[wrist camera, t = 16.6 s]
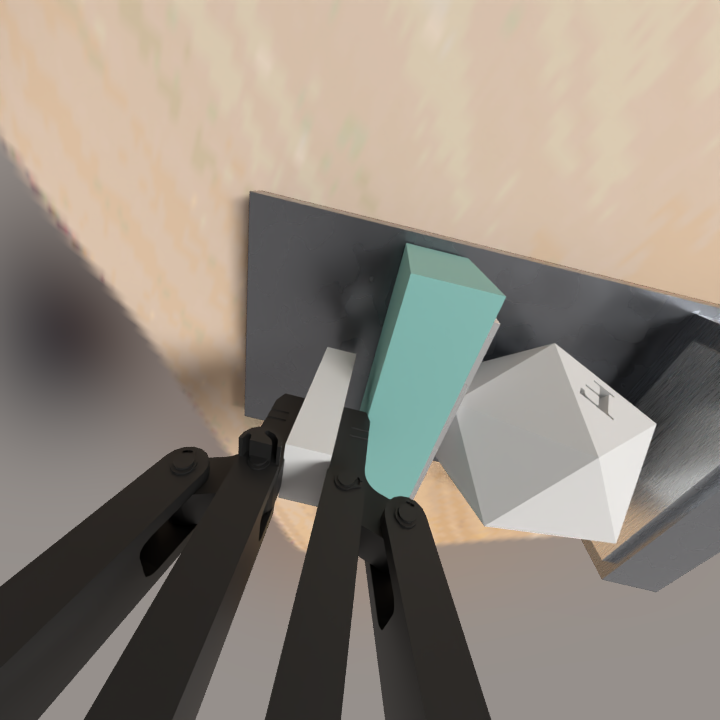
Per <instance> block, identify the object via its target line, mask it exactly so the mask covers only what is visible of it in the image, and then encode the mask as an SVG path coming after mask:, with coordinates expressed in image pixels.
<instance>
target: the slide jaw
mask: <svg viewBox="0 0 720 720" xmlns="http://www.w3.org/2000/svg"><path fill="white" fill-rule="evenodd" d="M505 298H506V296H505V295H504V294H503V293H502V292H501V291H500V290H499V289H498V288H497V287H496V286H495V285H494V284H493V283H492V282H491V281H490V280H489V279H488V278H487V277H486V276H485V275H484V274H483V273H482V272H481V271H480V270H479V269H478V268H477V267H476V266H475V265H474V264H473V263H472V262H471V260H470V259H469V258H465V257H461V256H457V255H453V254H449V253H445V252H441V251H437V250H433V249H429V248H425V247H421V246H417V245H413V244H409V243H406V245H405V249H404V253H403V256H402V260H401V263H400V267H399V271H398V274H397V278H396V281H395V285H394V289H393V292H392V296H391V299H390V303H389V307H388V310H387V314H386V317H385V321H384V324H383V328H382V332H381V335H380V339H379V342H378V346H377V350H376V353H375V357H374V360H373V364H372V368H371V371H370V375H369V378H368V382H367V386H366V389H365V393H364V396H363V400H362V403H361V407H360V411H363V412H366V413H367V415H368V418H369V420H370V428H369V437H368V446H367V455H366V464H365V476H366V479H367V481H368V483H369V484H370V486H371V487H372V488H373V489H374V490H375V491H377V492H378V493H380V494H381V495H383V496H385V497H387V498H388V499H392V498H393V497H397V496H404V497H409V498H410V499H412V500H413V499H414V497H415V495H416V493H417V491H418V489H419V487H420V485H421V483H422V481H423V479H424V477H425V475H426V473H427V471H428V469H429V467H430V465H431V463H432V461H433V459H434V457H435V455H436V453H437V451H438V449H439V447H440V445H441V443H442V441H443V439H444V437H445V435H446V433H447V431H448V429H449V427H450V425H451V422H452V420H453V418H454V416H455V414H456V412H457V410H458V408H459V406H460V404H461V402H462V400H463V398H464V396H465V394H466V392H467V390H468V388H469V386H470V384H471V382H472V380H473V378H474V376H475V374H476V372H477V370H478V368H479V366H480V364H481V362H482V360H483V358H484V356H485V354H486V352H487V350H488V348H489V346H490V344H491V342H492V340H493V338H494V336H495V334H496V332H497V330H498V328H499V326H500V323H499V321H498V320H497V319H496V317H497V315H498V313H499V311H500V309H501V307H502V304H503V302H504V300H505Z"/></svg>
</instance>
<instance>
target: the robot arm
mask: <svg viewBox="0 0 720 720" xmlns="http://www.w3.org/2000/svg"><path fill="white" fill-rule="evenodd" d="M355 358H356V354H354V353H350V352H346V351H342V350H338V349H334V348H330V347H327V349H326V351H325V354H324V356H323V358H322V361H321V363H320V365H319V368H318V370H317V372H316V375H315V377H314V379H313V382H312V384H311V386H310V388H309V391H308V393H307V395H306V398H302V397H298V396H294V395H290V394H286V393H285V394H284V395H282V396H281V397H280V398H278V399H277V400H276V401H275V403H274V405H273V407H272V408H271V410H270V412H269V414H268V416H267V417H266V419H265V421H264V422H263V424H262V426H261V427H255V428H251V429H249V430H247V431H245V432H243V433H242V434H241V435H240V437H239V454H237V455H234V456H229V457H214V458H208V455H207V453H206V452H204V451H203V450H202V449H200V448H196V447H184V448H180V449H177V450H174V451H173V452H171V453H169V454H167V455H166V456H165V457H163V458H162V459H161V460H160V461H159V462H157V463H156V464H155V465H153V466H152V467H151V468H149V469H148V470H147V471H146V472H144V473H143V474H142V475H141V476H139V477H138V478H137V479H136V480H135V481H133V482H132V483H131V484H129V485H128V486H127V487H126V488H124V489H123V490H122V491H120V492H119V493H118V494H117V495H116V496H114V497H113V498H112V499H110V500H109V501H108V502H107V503H105V504H104V505H103V506H101V507H100V508H99V509H98V510H96V511H95V512H94V513H93V514H91V515H90V516H89V517H88V518H86V519H85V520H84V521H83V522H81V523H80V524H79V525H78V526H77V527H75V528H74V529H72V530H71V531H70V532H69V533H67V534H66V535H65V536H64V537H62V538H61V539H60V540H59V541H57V542H56V543H55V544H53V545H52V546H51V547H50V548H49V549H47V550H46V551H45V552H43V553H42V554H41V555H40V556H39V557H37V558H36V559H35V560H33V561H32V562H31V563H30V564H28V565H27V566H26V567H24V568H23V569H22V570H21V571H19V572H18V573H17V574H16V575H14V576H13V577H12V578H11V579H9V580H8V581H7V582H6V583H4V584H3V585H2V586H0V720H38V719H39V717H40V716H41V715H42V714H43V713H44V712H45V711H46V709H47V708H48V707H49V706H50V705H51V704H52V702H53V701H54V700H55V699H56V698H57V696H58V695H59V694H60V693H61V692H62V691H63V690H64V688H65V687H66V686H67V685H68V684H69V683H70V682H71V680H72V679H73V678H74V677H75V676H76V675H77V673H78V672H79V671H80V670H81V669H82V668H83V666H84V665H85V664H86V663H87V662H88V661H89V659H90V658H91V657H92V656H93V655H94V654H95V652H96V651H97V650H98V649H99V648H100V646H101V645H102V644H103V643H104V642H105V641H106V640H107V639H108V637H109V636H110V635H111V634H112V633H113V632H114V630H115V629H116V628H117V627H118V626H119V625H120V623H121V622H122V621H123V620H124V619H125V618H126V617H127V615H128V614H129V613H130V612H131V611H132V610H133V608H134V607H135V606H136V605H137V604H138V603H139V601H140V600H141V599H142V598H143V597H144V596H145V594H146V593H147V592H148V591H149V590H150V589H151V587H152V586H153V585H154V584H155V583H156V582H157V581H158V579H159V578H160V577H161V576H162V575H163V574H164V572H165V571H166V570H167V569H168V568H169V566H170V565H171V564H172V563H173V562H174V561H175V560H176V558H177V557H178V556H179V555H180V554H181V555H180V556H179V558H178V560H177V561H176V563H175V565H174V567H173V568H172V570H171V572H170V573H169V575H168V577H167V579H166V580H165V582H164V584H163V585H162V587H161V589H160V590H159V592H158V594H157V596H156V597H155V599H154V601H153V602H152V604H151V606H150V607H149V609H148V611H147V613H146V614H145V616H144V618H143V619H142V621H141V623H140V625H139V626H138V628H137V630H136V631H135V633H134V635H133V637H132V638H131V640H130V642H129V643H128V645H127V647H126V649H125V650H124V652H123V654H122V655H121V657H120V659H119V661H118V662H117V664H116V666H115V667H114V669H113V671H112V672H111V674H110V676H109V677H108V679H107V681H106V683H105V684H104V686H103V688H102V689H101V691H100V693H99V695H98V696H97V698H96V700H95V701H94V703H93V705H92V707H91V708H90V710H89V712H88V713H87V715H86V717H85V719H84V720H195V719H196V716H197V714H198V711H199V708H200V706H201V703H202V701H203V698H204V695H205V692H206V690H207V687H208V685H209V682H210V679H211V676H212V674H213V671H214V669H215V666H216V663H217V661H218V658H219V655H220V652H221V650H222V647H223V645H224V642H225V639H226V637H227V634H228V631H229V629H230V626H231V623H232V620H233V618H234V616H235V613H236V610H237V608H238V605H239V602H240V600H241V597H242V594H243V592H244V589H245V586H246V583H247V581H248V578H249V576H250V573H251V570H252V567H253V565H254V562H255V560H256V557H257V554H258V552H259V549H260V546H261V544H262V541H263V538H264V536H265V533H266V530H267V528H268V525H269V523H270V520H271V517H272V515H273V510H274V503H275V501H276V498H277V496H278V493H279V496H278V497H279V498H283V499H287V500H291V501H296V502H300V503H304V504H308V505H312V506H317V507H318V508H317V512H316V516H315V520H314V524H313V528H312V532H311V536H310V540H309V544H308V548H307V552H306V556H305V560H304V565H303V569H302V573H301V577H300V581H299V585H298V589H297V593H296V597H295V601H294V605H293V609H292V613H291V617H290V621H289V625H288V629H287V633H286V637H285V641H284V645H283V649H282V653H281V657H280V661H279V665H278V669H277V673H276V677H275V681H274V685H273V689H272V693H271V697H270V701H269V705H268V709H267V713H266V717H265V720H341V713H342V703H343V694H344V684H345V675H346V666H347V656H348V647H349V638H350V628H351V618H352V609H353V600H354V590H355V579H356V571H357V562H358V556H359V557H360V558H362V559H364V560H365V566H366V574H367V581H368V589H369V597H370V604H371V613H372V620H373V628H374V635H375V644H376V651H377V659H378V667H379V675H380V682H381V690H382V698H383V706H384V714H385V720H491V718H490V715H489V712H488V708H487V705H486V702H485V699H484V696H483V693H482V690H481V687H480V683H479V681H478V677H477V674H476V671H475V668H474V665H473V661H472V658H471V655H470V652H469V649H468V646H467V643H466V640H465V636H464V633H463V630H462V627H461V624H460V621H459V618H458V614H457V611H456V608H455V605H454V602H453V599H452V596H451V593H450V590H449V586H448V583H447V580H446V577H445V574H444V571H443V568H442V564H441V561H440V558H439V555H438V552H437V549H436V546H435V542H434V539H433V536H432V533H431V530H430V527H429V524H428V520H427V517H426V515H425V513H424V511H423V509H422V508H421V506H420V505H419V504H418V503H417V502H416V501H414V500H412V499H410V498H409V497H404V496H397V497H393V498H392V499H388V498H387V497H385V496H383V495H381V494H380V493H378V492H377V491H375V490H374V489H373V488H372V487H371V486H370V484H369V483H368V481H367V479H366V476H365V464H366V455H367V446H368V437H369V428H370V420H369V418H368V415H367V413H366V412H363V411H359V410H354V409H350V408H346V407H344V404H345V399H346V395H347V391H348V387H349V383H350V379H351V375H352V370H353V366H354V362H355Z"/></svg>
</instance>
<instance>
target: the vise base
mask: <svg viewBox="0 0 720 720" xmlns="http://www.w3.org/2000/svg"><path fill="white" fill-rule="evenodd" d="M406 243H409V244H413V245H417V246H421V247H425V248H429V249H433V250H437V251H441V252H445V253H449V254H453V255H457V256H461V257H465V258H469V259H470V260H471V262H472V263H473V264H474V265H475V266H476V267H477V268H478V269H479V270H480V271H481V272H482V273H483V274H484V275H485V276H486V277H487V278H488V279H489V280H490V281H491V282H492V283H493V284H494V285H495V286H496V287H497V288H498V289H499V290H500V291H501V292H502V293H503V294H504V295H505V296H506V298H505V300H504V302H503V304H502V307H501V309H500V311H499V313H498V315H497V317H496V319H497V320H498V321H499V323H500V326H499V328H498V330H497V332H496V334H495V336H494V338H493V340H492V342H491V344H490V346H489V348H488V350H487V352H486V354H485V356H484V358H483V360H482V362H484V361H488V360H492V359H496V358H500V357H503V356H507V355H511V354H515V353H518V352H522V351H526V350H530V349H534V348H537V347H541V346H545V345H549V344H553V343H555V344H557V345H558V346H559V347H560V348H562V349H563V350H564V351H565V352H567V353H568V354H569V355H570V356H572V357H573V358H574V359H575V360H577V361H578V362H579V363H581V364H582V365H583V366H584V367H586V368H587V369H588V370H589V371H591V372H592V373H593V374H594V375H596V376H597V377H598V378H599V379H601V380H602V381H603V382H604V383H606V384H607V385H608V386H609V387H611V388H612V389H613V390H615V391H616V392H617V393H618V394H620V395H621V396H622V397H623V398H625V399H626V400H627V401H628V402H630V403H631V404H632V405H633V406H635V407H636V408H637V409H638V410H640V411H641V412H642V413H644V414H645V415H646V416H647V417H649V418H650V419H651V420H652V421H654V422H655V423H656V427H655V430H654V433H653V436H652V439H651V442H650V445H649V448H648V451H647V454H646V457H645V459H644V462H643V465H642V468H641V471H640V474H639V477H638V480H637V483H636V486H635V489H634V492H633V495H632V498H631V501H630V504H629V507H628V510H627V513H626V516H625V519H624V522H623V525H622V528H621V531H620V533H619V536H618V539H617V542H616V544H615V543H608V542H600V541H593V540H585V539H581V540H582V542H583V544H584V546H585V548H586V550H587V552H588V554H589V555H590V557H591V559H592V561H593V563H594V565H595V567H596V569H597V571H598V573H599V575H600V577H601V579H602V580H606V581H611V582H615V583H619V584H623V585H628V586H632V587H636V588H641V589H645V590H649V591H653V592H657V591H659V590H660V589H662V588H664V587H665V586H667V585H668V584H670V583H672V582H673V581H675V580H676V579H678V578H679V577H681V576H683V575H684V574H686V573H687V572H689V571H691V570H692V569H694V568H695V567H697V566H698V565H700V564H702V563H703V562H705V561H706V560H708V559H710V558H711V557H713V556H714V555H716V554H717V553H719V552H720V305H719V304H715V303H711V302H707V301H703V300H699V299H695V298H691V297H687V296H683V295H679V294H675V293H671V292H667V291H663V290H659V289H655V288H651V287H647V286H643V285H639V284H635V283H631V282H627V281H623V280H619V279H614V278H610V277H606V276H602V275H598V274H594V273H590V272H586V271H582V270H578V269H574V268H570V267H566V266H562V265H558V264H554V263H550V262H546V261H542V260H538V259H534V258H530V257H526V256H522V255H518V254H514V253H510V252H506V251H502V250H498V249H494V248H490V247H486V246H482V245H478V244H474V243H470V242H466V241H462V240H458V239H454V238H450V237H446V236H442V235H438V234H434V233H430V232H426V231H422V230H418V229H414V228H410V227H406V226H402V225H398V224H394V223H390V222H386V221H382V220H378V219H374V218H370V217H366V216H362V215H358V214H354V213H350V212H346V211H342V210H338V209H334V208H330V207H326V206H322V205H318V204H314V203H310V202H306V201H302V200H298V199H294V198H290V197H286V196H281V195H277V194H273V193H269V192H265V191H250V201H249V246H248V290H247V335H246V379H245V416H248V417H252V418H256V419H260V420H265V419H266V417H267V416H268V414H269V412H270V410H271V408H272V407H273V405H274V403H275V401H276V400H277V399H278V398H280V397H281V396H282V395H284V394H285V393H286V394H290V395H294V396H298V397H302V398H306V395H307V393H308V391H309V388H310V386H311V384H312V382H313V379H314V377H315V375H316V372H317V370H318V368H319V365H320V363H321V361H322V358H323V356H324V354H325V351H326V349H327V347H330V348H334V349H338V350H342V351H346V352H350V353H354V354H356V358H355V362H354V366H353V370H352V375H351V379H350V383H349V387H348V391H347V395H346V399H345V404H344V407H346V408H350V409H354V410H359V411H360V407H361V403H362V400H363V396H364V393H365V389H366V386H367V382H368V378H369V375H370V371H371V368H372V364H373V360H374V357H375V353H376V350H377V346H378V342H379V339H380V335H381V332H382V328H383V324H384V321H385V317H386V314H387V310H388V307H389V303H390V299H391V296H392V292H393V289H394V285H395V281H396V278H397V274H398V271H399V267H400V263H401V260H402V256H403V253H404V249H405V245H406ZM433 461H437V462H439V461H438V459H437V458H436V457H434V459H433Z"/></svg>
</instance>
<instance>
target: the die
mask: <svg viewBox="0 0 720 720" xmlns="http://www.w3.org/2000/svg"><path fill="white" fill-rule="evenodd" d="M655 427H656V423H655V422H654V421H652V420H651V419H650V418H649V417H647V416H646V415H645V414H644V413H642V412H641V411H640V410H638V409H637V408H636V407H635V406H633V405H632V404H631V403H630V402H628V401H627V400H626V399H625V398H623V397H622V396H621V395H620V394H618V393H617V392H616V391H615V390H613V389H612V388H611V387H609V386H608V385H607V384H606V383H604V382H603V381H602V380H601V379H599V378H598V377H597V376H596V375H594V374H593V373H592V372H591V371H589V370H588V369H587V368H586V367H584V366H583V365H582V364H581V363H579V362H578V361H577V360H575V359H574V358H573V357H572V356H570V355H569V354H568V353H567V352H565V351H564V350H563V349H562V348H560V347H559V346H558V345H557V344H555V343H553V344H549V345H545V346H541V347H537V348H534V349H530V350H526V351H522V352H518V353H515V354H511V355H507V356H503V357H500V358H496V359H492V360H488V361H484V362H481V364H480V366H479V368H478V370H477V372H476V374H475V376H474V378H473V380H472V382H471V384H470V386H469V388H468V390H467V392H466V394H465V396H464V398H463V400H462V402H461V404H460V406H459V408H458V410H457V412H456V414H455V416H454V418H453V420H452V422H451V425H450V427H449V429H448V431H447V433H446V435H445V437H444V439H443V441H442V443H441V445H440V447H439V449H438V451H437V453H436V455H435V457H436V458H437V459H438V461H439V462H440V464H441V465H442V466H443V468H444V469H445V471H446V472H447V474H448V475H449V476H450V478H451V479H452V481H453V482H454V484H455V485H456V486H457V488H458V489H459V491H460V492H461V494H462V495H463V496H464V498H465V499H466V501H467V502H468V503H469V505H470V506H471V508H472V509H473V511H474V512H475V513H476V515H477V516H478V518H479V519H480V521H481V522H482V523H483V525H484V526H487V527H494V528H502V529H510V530H517V531H525V532H532V533H540V534H547V535H555V536H562V537H570V538H578V539H585V540H593V541H600V542H608V543H615V544H616V542H617V539H618V536H619V533H620V531H621V528H622V525H623V522H624V519H625V516H626V513H627V510H628V507H629V504H630V501H631V498H632V495H633V492H634V489H635V486H636V483H637V480H638V477H639V474H640V471H641V468H642V465H643V462H644V459H645V457H646V454H647V451H648V448H649V445H650V442H651V439H652V436H653V433H654V430H655Z"/></svg>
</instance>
